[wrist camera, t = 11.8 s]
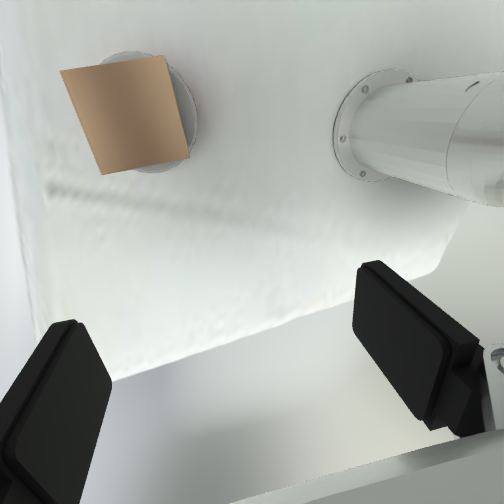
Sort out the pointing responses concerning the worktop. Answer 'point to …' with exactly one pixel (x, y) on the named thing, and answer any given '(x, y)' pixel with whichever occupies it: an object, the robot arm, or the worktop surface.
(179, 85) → the canned food
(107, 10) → the worktop surface
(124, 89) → the walnut block
